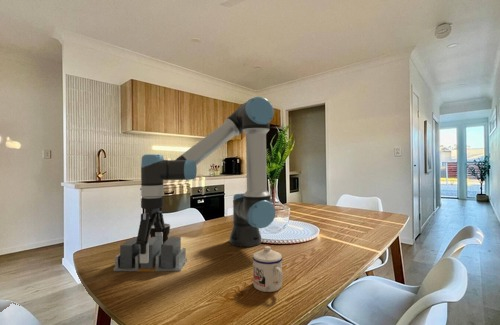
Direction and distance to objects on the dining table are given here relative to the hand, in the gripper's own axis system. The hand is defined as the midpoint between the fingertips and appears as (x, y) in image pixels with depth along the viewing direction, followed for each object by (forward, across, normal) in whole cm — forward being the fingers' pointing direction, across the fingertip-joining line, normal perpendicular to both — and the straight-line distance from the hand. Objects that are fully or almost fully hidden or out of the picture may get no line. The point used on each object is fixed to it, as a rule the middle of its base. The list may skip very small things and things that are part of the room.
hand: (152, 255), depth 90 cm
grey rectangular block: (+3, 0, 0) cm, 3 cm away
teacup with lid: (+4, +16, +42) cm, 45 cm away
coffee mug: (+4, -20, -4) cm, 21 cm away
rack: (+4, 0, 0) cm, 4 cm away
